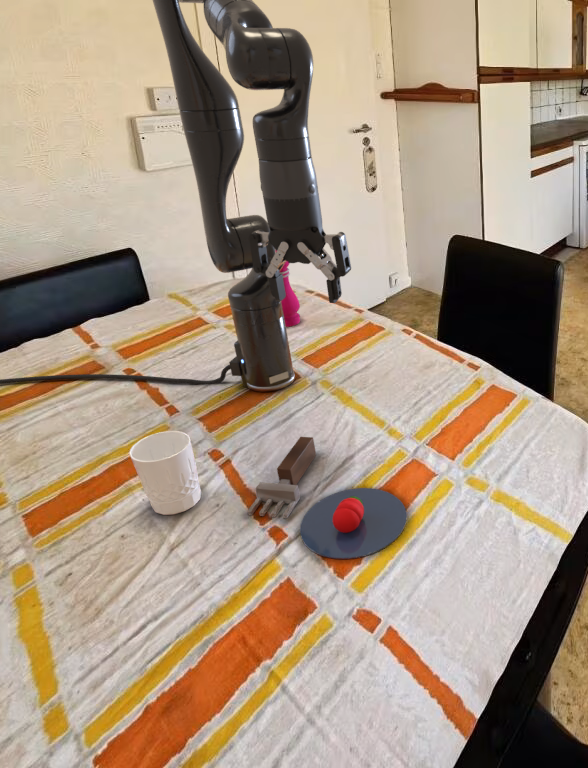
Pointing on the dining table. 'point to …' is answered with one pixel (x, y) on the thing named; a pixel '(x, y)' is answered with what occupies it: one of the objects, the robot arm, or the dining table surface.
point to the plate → (369, 537)
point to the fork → (286, 479)
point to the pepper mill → (289, 300)
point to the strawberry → (348, 514)
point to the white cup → (167, 471)
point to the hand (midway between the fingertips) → (307, 300)
